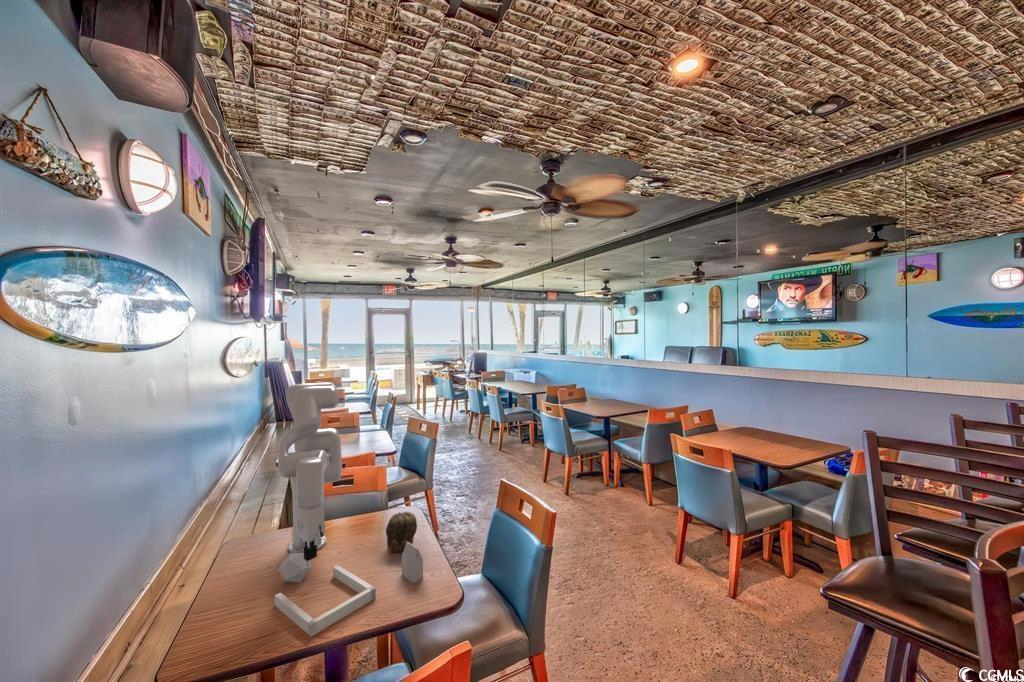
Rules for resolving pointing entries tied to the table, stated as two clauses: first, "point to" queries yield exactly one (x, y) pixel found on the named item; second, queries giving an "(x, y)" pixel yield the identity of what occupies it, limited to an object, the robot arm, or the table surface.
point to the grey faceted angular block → (412, 563)
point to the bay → (334, 614)
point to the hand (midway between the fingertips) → (310, 558)
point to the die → (294, 567)
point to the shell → (400, 531)
